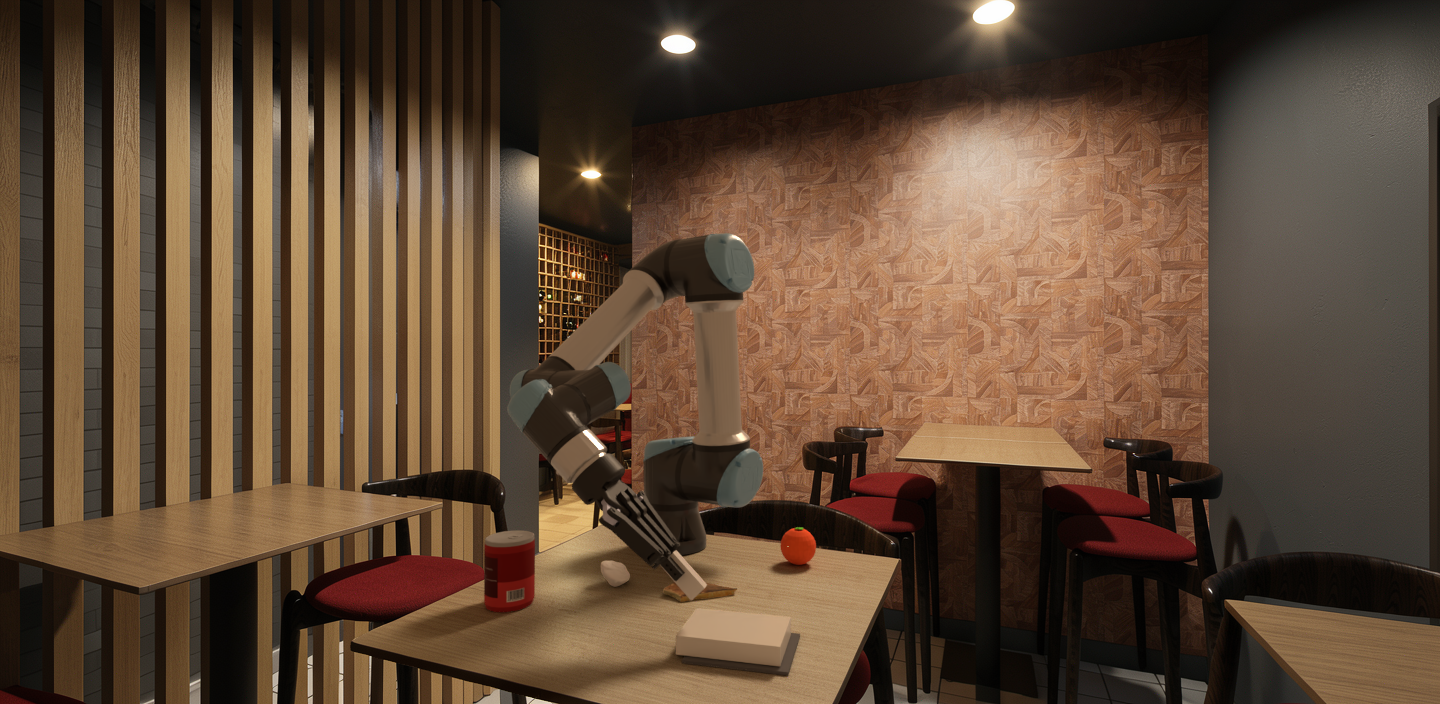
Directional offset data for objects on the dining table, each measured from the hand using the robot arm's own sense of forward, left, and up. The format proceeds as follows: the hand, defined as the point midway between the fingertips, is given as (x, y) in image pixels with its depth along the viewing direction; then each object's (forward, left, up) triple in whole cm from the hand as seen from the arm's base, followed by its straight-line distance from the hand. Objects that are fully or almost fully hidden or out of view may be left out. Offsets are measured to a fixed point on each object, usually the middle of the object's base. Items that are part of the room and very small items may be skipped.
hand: (699, 592), depth 91 cm
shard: (-20, -6, -8) cm, 22 cm away
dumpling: (-20, -21, -7) cm, 30 cm away
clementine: (-40, +9, -7) cm, 42 cm away
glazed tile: (0, -2, -5) cm, 6 cm away
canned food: (-7, -34, -7) cm, 36 cm away
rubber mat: (0, +6, -7) cm, 10 cm away
